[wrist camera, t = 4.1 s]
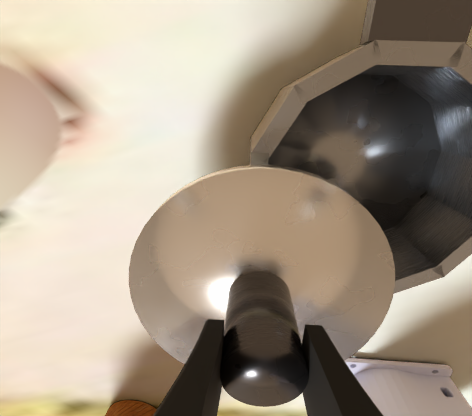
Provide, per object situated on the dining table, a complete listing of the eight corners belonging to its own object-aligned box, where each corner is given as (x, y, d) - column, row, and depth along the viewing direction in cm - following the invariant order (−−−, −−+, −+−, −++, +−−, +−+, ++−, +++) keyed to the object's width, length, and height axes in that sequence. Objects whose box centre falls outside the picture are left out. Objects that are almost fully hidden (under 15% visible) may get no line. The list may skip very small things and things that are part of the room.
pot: (495, 17, 13) (624, -25, 9) (404, 274, 20) (451, 329, 15) (257, 11, 14) (260, -31, 9) (243, 265, 20) (241, 315, 15)
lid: (415, 176, 12) (549, 235, 7) (343, 368, 16) (387, 490, 11) (135, 145, 12) (47, 181, 6) (145, 347, 16) (98, 460, 11)
